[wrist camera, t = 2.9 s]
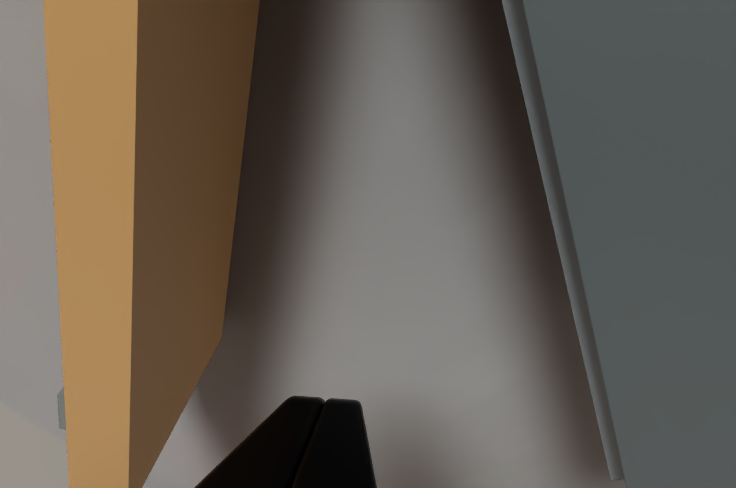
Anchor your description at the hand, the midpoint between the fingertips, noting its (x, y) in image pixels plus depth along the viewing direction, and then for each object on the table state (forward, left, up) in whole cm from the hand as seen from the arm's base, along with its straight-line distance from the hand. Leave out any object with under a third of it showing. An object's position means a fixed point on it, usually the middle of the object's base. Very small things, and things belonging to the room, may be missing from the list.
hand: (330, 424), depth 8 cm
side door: (+5, +2, -6) cm, 7 cm away
